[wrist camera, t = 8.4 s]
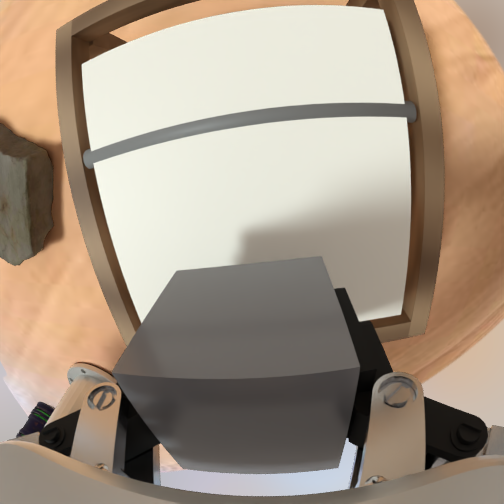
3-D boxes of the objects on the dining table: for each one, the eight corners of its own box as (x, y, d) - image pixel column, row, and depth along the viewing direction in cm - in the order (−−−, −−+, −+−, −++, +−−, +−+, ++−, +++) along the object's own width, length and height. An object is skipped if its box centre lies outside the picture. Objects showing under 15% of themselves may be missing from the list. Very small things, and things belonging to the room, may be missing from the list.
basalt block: (321, 255, 9) (360, 366, 4) (322, 363, 11) (338, 467, 6) (176, 270, 10) (111, 372, 5) (208, 370, 11) (182, 468, 7)
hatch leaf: (381, 272, 17) (409, 314, 13) (165, 293, 19) (138, 336, 15) (363, 40, 12) (393, 10, 7) (119, 79, 13) (73, 68, 9)
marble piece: (-7, 121, 20) (-29, 125, 16) (62, 118, 20) (34, 119, 17) (-6, 238, 26) (-25, 249, 23) (58, 265, 27) (37, 281, 23)
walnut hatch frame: (375, 261, 23) (424, 333, 14) (177, 281, 26) (132, 356, 16) (351, 25, 16) (399, -34, 6) (134, 60, 18) (56, 30, 8)
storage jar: (61, 411, 42) (34, 458, 29) (75, 432, 46) (53, 475, 33) (31, 395, 43) (4, 437, 29) (46, 417, 46) (24, 456, 33)
